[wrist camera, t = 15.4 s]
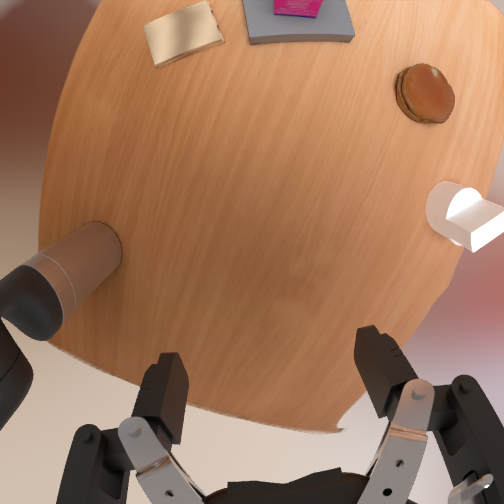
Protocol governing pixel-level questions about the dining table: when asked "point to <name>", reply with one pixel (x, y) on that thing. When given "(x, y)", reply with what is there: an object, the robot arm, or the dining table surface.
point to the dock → (297, 23)
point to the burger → (425, 94)
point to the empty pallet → (182, 33)
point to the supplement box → (297, 7)
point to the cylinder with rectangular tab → (463, 215)
